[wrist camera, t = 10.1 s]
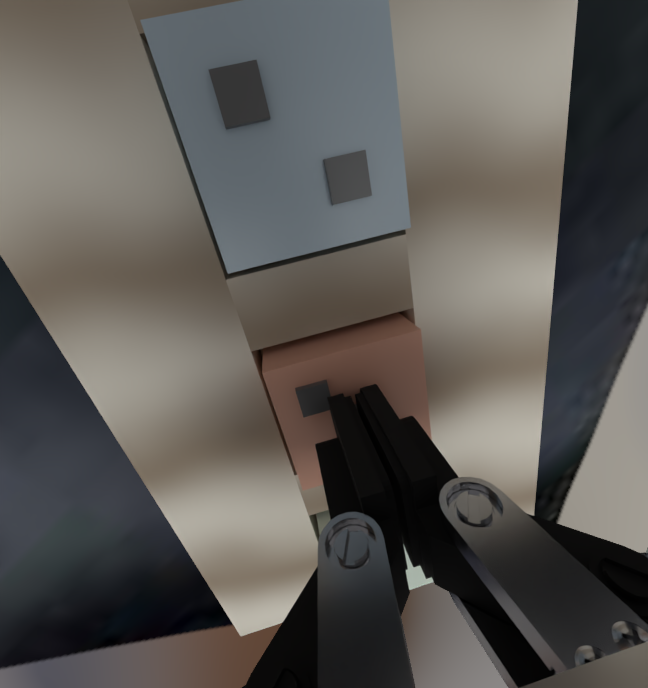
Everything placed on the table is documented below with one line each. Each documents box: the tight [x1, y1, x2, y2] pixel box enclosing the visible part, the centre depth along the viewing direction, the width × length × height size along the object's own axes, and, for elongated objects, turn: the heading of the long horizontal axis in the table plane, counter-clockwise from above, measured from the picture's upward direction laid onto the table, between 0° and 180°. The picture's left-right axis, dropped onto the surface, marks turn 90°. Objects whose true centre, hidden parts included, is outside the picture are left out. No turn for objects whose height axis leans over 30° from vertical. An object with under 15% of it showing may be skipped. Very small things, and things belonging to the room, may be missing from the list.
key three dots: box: [262, 312, 432, 491], centre depth 12 cm, size 5×5×3 cm
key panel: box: [0, 0, 578, 636], centre depth 13 cm, size 24×16×3 cm, turn 12°
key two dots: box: [140, 0, 411, 274], centre depth 8 cm, size 5×5×3 cm
